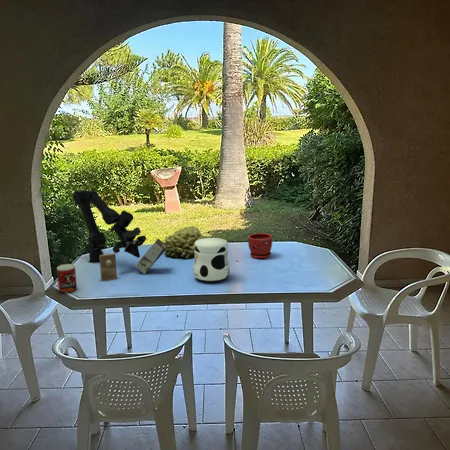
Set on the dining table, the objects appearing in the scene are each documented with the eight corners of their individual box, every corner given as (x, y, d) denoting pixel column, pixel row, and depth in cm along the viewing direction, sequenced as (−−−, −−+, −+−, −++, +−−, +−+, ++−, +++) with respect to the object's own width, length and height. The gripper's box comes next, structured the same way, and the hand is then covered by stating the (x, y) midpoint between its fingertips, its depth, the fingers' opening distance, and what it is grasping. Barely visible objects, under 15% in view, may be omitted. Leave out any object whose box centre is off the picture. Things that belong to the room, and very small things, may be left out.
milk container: (188, 275, 219) (187, 239, 215) (221, 270, 226) (220, 235, 222) (200, 287, 204) (199, 248, 200) (235, 281, 210) (235, 244, 206)
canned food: (60, 294, 196) (57, 270, 194) (57, 288, 203) (55, 265, 201) (78, 291, 200) (76, 267, 197) (75, 285, 207) (73, 263, 204)
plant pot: (256, 252, 257) (256, 231, 254) (276, 255, 249) (276, 234, 247) (243, 257, 247) (243, 236, 244) (264, 261, 239) (264, 240, 236)
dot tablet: (101, 279, 215) (99, 255, 212) (115, 277, 218) (114, 253, 215) (102, 281, 212) (100, 256, 210) (117, 278, 215) (115, 254, 213)
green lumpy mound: (202, 261, 242) (201, 232, 239) (158, 259, 247) (157, 231, 243) (211, 248, 266) (211, 222, 263) (172, 246, 270) (171, 221, 267)
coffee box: (144, 274, 221) (165, 250, 218) (134, 266, 220) (155, 242, 217) (148, 268, 230) (168, 245, 227) (138, 261, 229) (158, 237, 226)
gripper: (114, 226, 216) (132, 252, 212) (143, 219, 231) (159, 243, 227) (105, 240, 222) (122, 265, 218) (133, 232, 237) (149, 256, 233)
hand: (139, 257), depth 224 cm, fingers closed
